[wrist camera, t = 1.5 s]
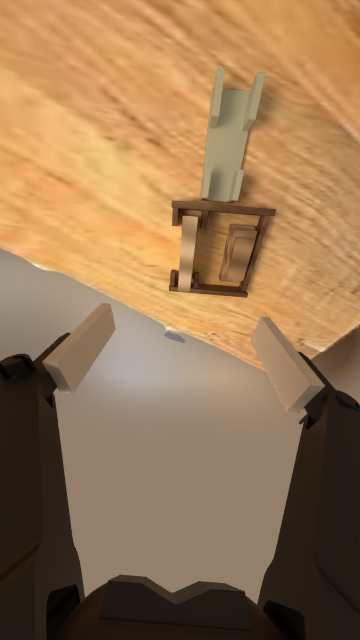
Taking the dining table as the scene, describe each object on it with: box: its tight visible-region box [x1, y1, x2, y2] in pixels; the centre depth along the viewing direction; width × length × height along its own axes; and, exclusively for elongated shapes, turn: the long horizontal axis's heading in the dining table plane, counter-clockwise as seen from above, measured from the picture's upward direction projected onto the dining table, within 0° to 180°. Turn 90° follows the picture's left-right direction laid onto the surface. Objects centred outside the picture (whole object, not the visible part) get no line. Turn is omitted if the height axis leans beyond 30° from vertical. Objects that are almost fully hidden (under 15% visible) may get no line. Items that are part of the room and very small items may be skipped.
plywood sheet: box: [178, 216, 198, 293], centre depth 40 cm, size 16×3×11 cm, turn 176°
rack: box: [169, 201, 276, 297], centre depth 42 cm, size 21×23×6 cm
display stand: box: [200, 68, 266, 203], centre depth 31 cm, size 16×8×6 cm, turn 176°
